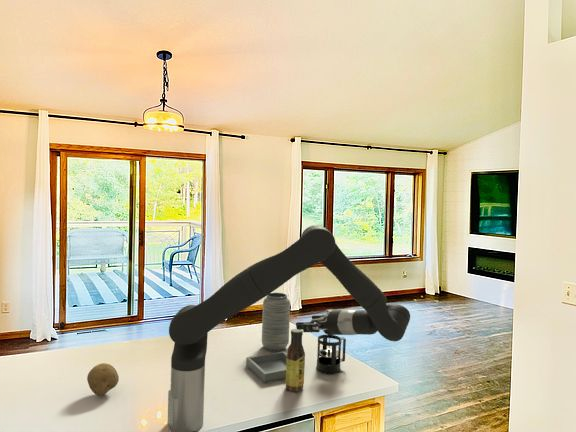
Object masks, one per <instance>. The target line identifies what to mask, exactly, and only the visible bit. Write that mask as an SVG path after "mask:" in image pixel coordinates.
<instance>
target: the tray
mask: <svg viewBox="0 0 576 432" xmlns="http://www.w3.org/2000/svg"><path fill="white" fill-rule="evenodd" d="M286 360H287V352H285V351H284V350H282V351H276V352H272V353H266V354H259V355H253V356H247V357H246V362H245V363H246V364H245V367H246V368H247V369H248V370H249V371H250V372H251V373H252V374H253V375H254V376H255V377H257V379H259V381H261V382H262V383H263V384H264V385H266V384H270V383H271V384H272V383H275V382H280V381H286Z"/></svg>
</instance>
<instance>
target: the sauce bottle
mask: <svg viewBox="0 0 576 432" xmlns="http://www.w3.org/2000/svg"><path fill="white" fill-rule="evenodd" d="M303 333H304V332H303V330H298V329H297V328H292V329H290V335H291V336H290V337H291V338H290V344H289V346H287V347H288V348H287V351H286V353H287V360H286V380H285V389H286V390H287V391H289V392H301V391H302V390H303V389H304V384H305V367H306V365H305V362H306V352H305V349H304V346H303V335H304V334H303Z"/></svg>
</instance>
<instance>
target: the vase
mask: <svg viewBox="0 0 576 432" xmlns="http://www.w3.org/2000/svg"><path fill="white" fill-rule="evenodd" d="M290 318H291V301H290V299H289V298H288V295H287V294H286V293H283V292H271V293H270V294H269V295H267V296H265V297H264V298H263V302H262V323H261V324H262V325H261V343H262V346H263V347H264V349H265V350H267V351H270V352H274V353H276V352H282V351H284V350H286V347H288V345H289V340H290V323H291V322H290V320H291V319H290Z"/></svg>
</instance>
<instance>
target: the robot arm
mask: <svg viewBox="0 0 576 432" xmlns="http://www.w3.org/2000/svg"><path fill="white" fill-rule="evenodd" d="M319 263H320V264H321V265H323V266H324V267H325V268H326V269H327V270H328V271H329V272H330V273H331V274H332V275H333V276H334V277H335V278H336V279H337V280H338V282H339V283H340V284H341V285H342V286H343V288H344V289H345V290H346V292H347V293H348V294H349V295H350V296H351V297H352V298H353V299H354V300H355V301H356V302H357V303H358V305H360V306H361V307H362V309H360V310H359V309H334V310H332V311H331V312H326V313H324V314H318V315H312V316H311V319H310V321H298V322H295V329H298V330H302V331H303V333H319V332H321V331H323V330H327V329H328V330H329V331H330V333H331V334H333V335H335V336H355V335H356V336H357V335H366V336H367V335H368V336H369V335H370V336H371V335H374V334H376V333H377V332H378V334H380V335H381V337H382V338H384V339H385V340H387V341H389V342H399V341H400V340H402V338H403V337H404V335H405V334H406V330H407V328H408V326H409V323H410V321H411V313H410V311H409V310H408V309H407V307H405V306H404V305H401V304H399V303H391V304H387V303H388V298H387V296H386V294H385V292H383V291H382V290H381V288H379V287H378V286H377V285H376V283H375V282H374V281H373V280H372V279H370V278H369V276H367V274H365V273H364V272H363V271H362V270H361V269H359V267H358V266H356V265H355V263H353V262H352V261H351V260H350V258H348V257H347V255H346V254H345V253H344V252H343V251H342V250H341V248H339V246H338V245H337V243H336V239H335V236H334V234H333V233H332V232H331V231H330V230H329V229H328V228H326V227H324V226H321V225H310V226H307V227H306V228H305V229H304V230H303V232H301V235H300V238H299V239H297V240H296V241H294V243H292V244H291V245H290V246H288V247H287V248H285V249H284V250H282V251H281V252H278V253H276V254H274V255H271V256H269V257H267V258H264V259H262V260H260V261H257V262H255V263H254V264H252V265H250V266H248V267H247V268H245V269H244V270H242V271H240V272H239V273H237V274H236V275H234V276H233V277H232V278H230V279H229V280H228V281H227V282H225V284H223V285H222V286H221V287H220V288H219V289H218V290H217V291H215V292H214V293H213V294H212V295H211V296H209V297H208V298H206V299H205V300H204V301H201V303H198V304H196V305H195V304H189V305H185V306H184V307H181V308H180V309H179V310H178V312H176V314H175V315H174V316H173V317H172V319H171V321H170V323H169V326H168V335H169V337H170V339H171V341H173V342H174V345H173V350H172V353H171V358H170V389H169V390H167V391H168V392H167V393H168V394H167V395H168V396H167V425H168V427H169V429H170V431H171V432H197V431H199V430H200V429H201V428H202V427H203V425H204V416H205V415H204V409H205V408H204V407H205V406H204V404H205V376H206V375H205V374H206V373H205V371H206V355H207V349H208V335H209V334H208V333H209V332H211V331H212V330H213V329H214V328H216V327H217V326H219V324H221V323H222V322H224V321H226V320H228V319H229V318H232V317H233V316H235V315H237V314H239V313H240V312H242V311H244V310H246V309H247V308H249V307H250V306H252V305H254V304H256V303H257V302H259V301H261V300H262V299H265V298H266V297H267V295H269V294H270V293H274V291H275V290H278V289H279V288H280V287H281V286H283V285H284V284H286V283H287V282H288V281H290V280H291V279H293V278H294V277H295V276H296V275H299V274H300V273H302V272H304V271H306V270H308V269H309V268H311V267H313V266H315V265H317V264H319Z"/></svg>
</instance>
